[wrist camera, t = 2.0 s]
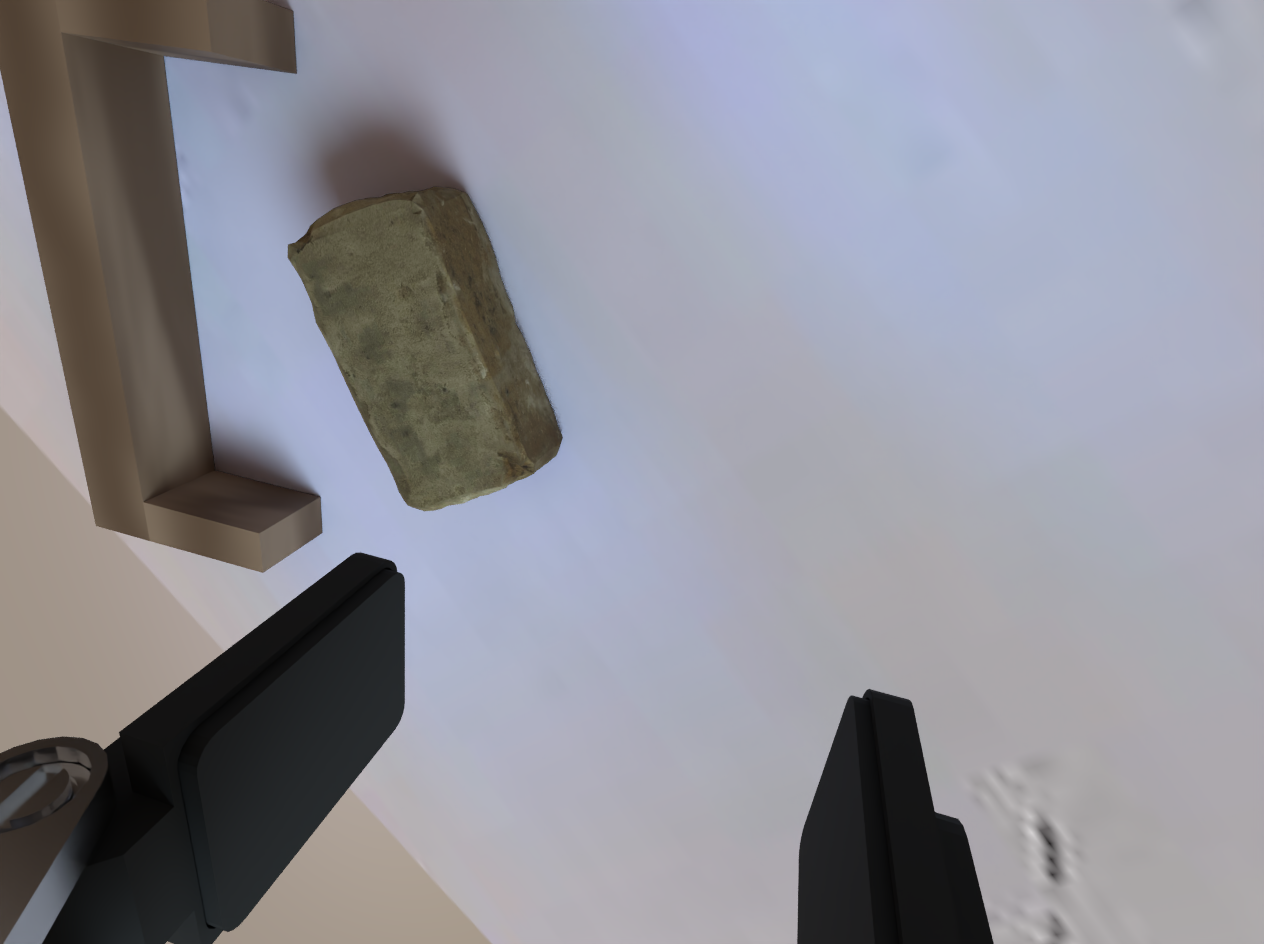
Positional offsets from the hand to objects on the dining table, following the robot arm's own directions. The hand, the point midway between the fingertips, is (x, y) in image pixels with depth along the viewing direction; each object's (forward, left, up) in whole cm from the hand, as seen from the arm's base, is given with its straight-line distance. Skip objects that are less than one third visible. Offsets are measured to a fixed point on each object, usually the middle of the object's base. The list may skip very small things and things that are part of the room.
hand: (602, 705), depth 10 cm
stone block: (+11, 0, -18) cm, 21 cm away
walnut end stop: (+23, 0, -18) cm, 29 cm away
